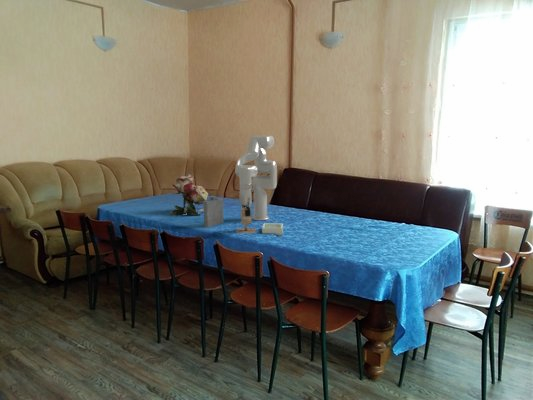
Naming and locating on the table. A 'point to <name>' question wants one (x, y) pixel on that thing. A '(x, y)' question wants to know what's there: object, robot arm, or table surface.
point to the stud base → (241, 230)
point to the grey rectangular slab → (213, 212)
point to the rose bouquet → (189, 196)
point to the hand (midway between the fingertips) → (246, 214)
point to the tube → (245, 217)
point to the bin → (273, 228)
